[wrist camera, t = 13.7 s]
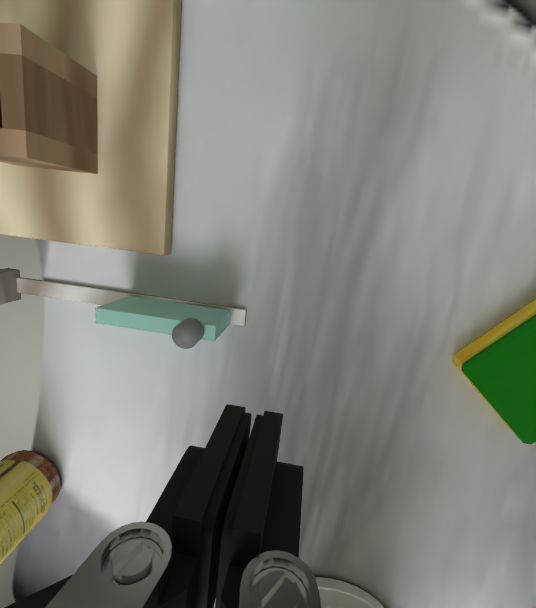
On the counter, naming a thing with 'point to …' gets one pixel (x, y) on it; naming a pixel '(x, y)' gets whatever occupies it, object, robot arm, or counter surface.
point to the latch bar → (166, 318)
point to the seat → (104, 141)
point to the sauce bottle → (24, 496)
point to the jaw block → (45, 105)
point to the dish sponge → (506, 370)
